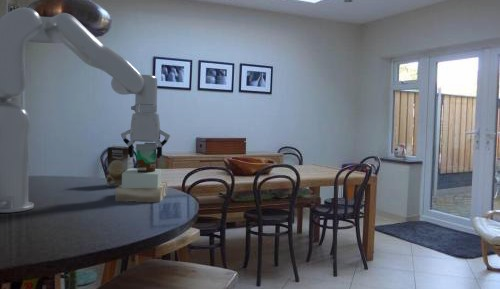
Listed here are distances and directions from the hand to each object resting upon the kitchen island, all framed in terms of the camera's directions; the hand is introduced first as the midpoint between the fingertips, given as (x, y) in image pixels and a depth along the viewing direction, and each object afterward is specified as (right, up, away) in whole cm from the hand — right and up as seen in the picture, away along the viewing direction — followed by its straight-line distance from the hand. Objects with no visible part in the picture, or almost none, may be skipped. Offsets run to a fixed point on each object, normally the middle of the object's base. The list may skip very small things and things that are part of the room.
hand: (145, 157), depth 158 cm
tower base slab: (-1, -15, +1) cm, 15 cm away
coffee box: (-17, -13, +25) cm, 33 cm away
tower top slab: (-1, -10, +1) cm, 10 cm away
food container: (+2, -5, 0) cm, 5 cm away
